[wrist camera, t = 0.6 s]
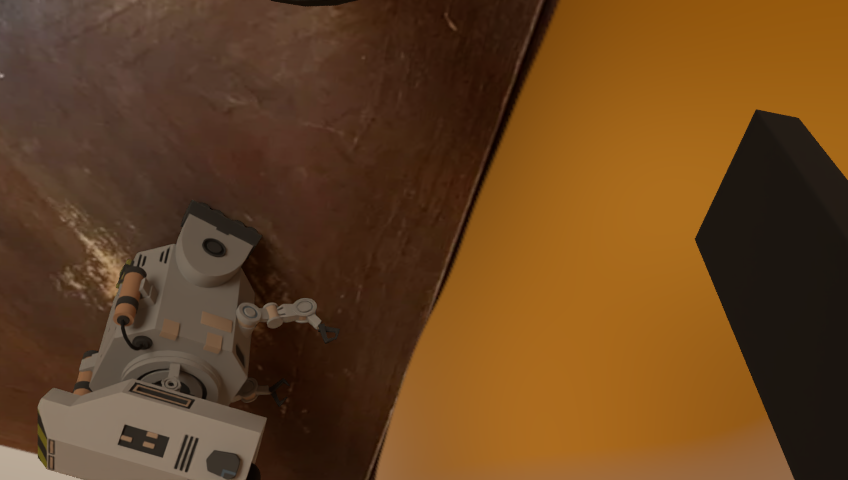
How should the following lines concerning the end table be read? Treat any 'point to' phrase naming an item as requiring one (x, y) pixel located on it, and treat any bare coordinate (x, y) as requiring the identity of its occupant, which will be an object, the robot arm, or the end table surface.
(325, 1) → the coffee cup
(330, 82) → the end table surface
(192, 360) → the figurine
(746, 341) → the robot arm
